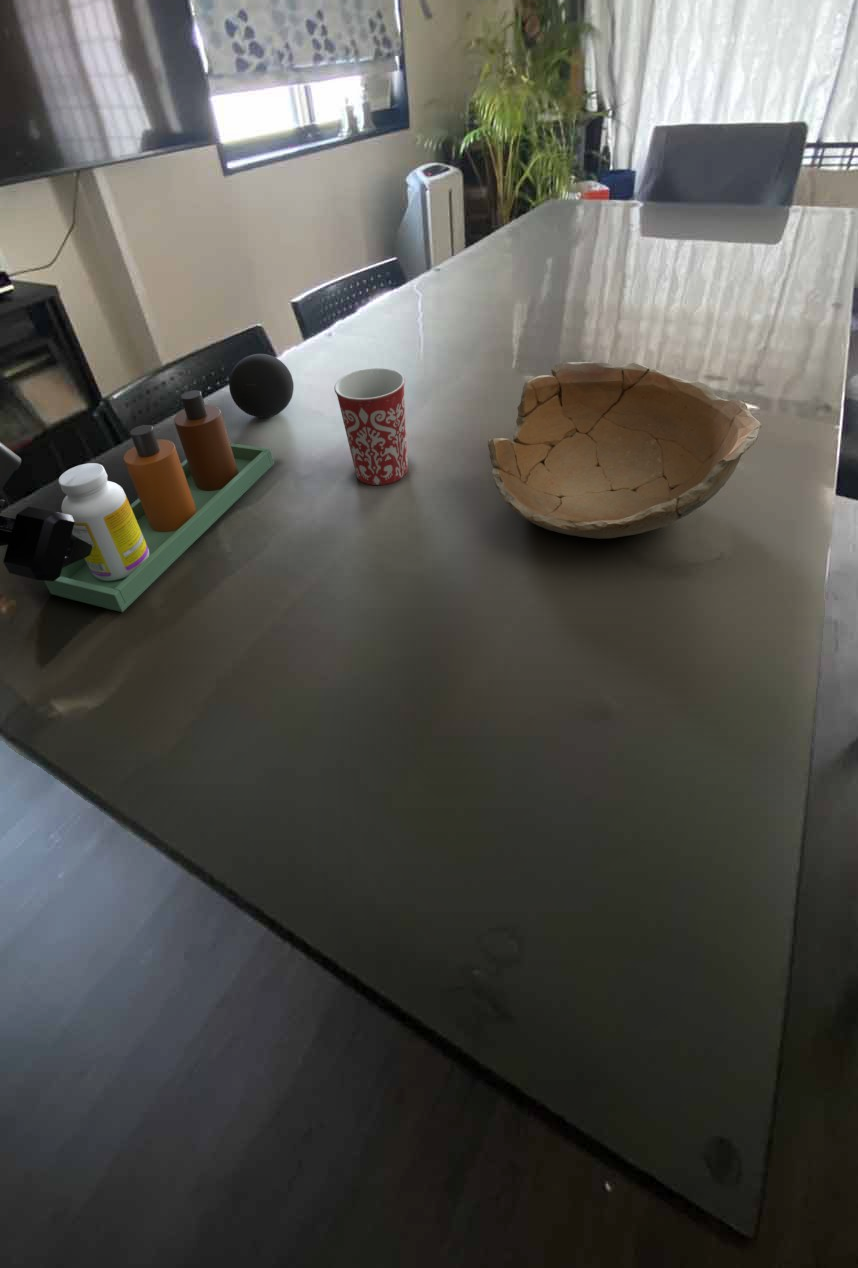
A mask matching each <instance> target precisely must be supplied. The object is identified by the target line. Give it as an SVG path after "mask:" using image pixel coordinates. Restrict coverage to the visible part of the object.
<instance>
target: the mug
mask: <svg viewBox="0 0 858 1268" xmlns="http://www.w3.org/2000/svg"><path fill="white" fill-rule="evenodd" d="M405 385H406V377H405V376H404V374H402V372H400V371H398V370H395V369H392V368H385V367H371V368H362V369H359V370H355V371H352V372H349V373H347V374H345V375H343V376H342V377H340V378H339V379H337V380H336V382H335V384H334V387H333V389H334V393H335V394H336V396H337V397H336V398H337V400H338V404H339V409H340V413H341V417H342V421H343V425H344V429H345V435H346V438H347V439H346V440H347V443H348V447H349V451H350V455H351V460H352V464H353V468H354V472H355V475H356V478H357V479H358V480H359V481H360V482H362V483H364V484H367V485H372V486H385V485H389V484H393V483H395V482H397V481H399V480H401V479H402V478H403V477H404V476H405V475H406V474H407V472H408V468H409V466H408V444H407V425H406V403H405V402H406V401H405Z"/></svg>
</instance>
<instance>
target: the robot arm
mask: <svg viewBox="0 0 858 1268" xmlns="http://www.w3.org/2000/svg"><path fill="white" fill-rule="evenodd" d="M21 464H22V458H21V457H20V456H19V455H17V454H16V453H15V452H14V451H12V450H11V449H10V448H8V447H7V446H6V445H5V444H4V443H2V442H1V441H0V492H1V491H2V489H3V488H4V486H5V485H6V484H7V482H8V481H9V479H10V478H11V477H12V475H13V474H14V472H15V471H18V469H20V466H21ZM4 504H5V500H4V499H0V547H2V546H7V547H6V549H5V550H6V551H5V554H4V558H3V561H2V563H3V565H4V566H5V568H6V569H7V571H8V573H9V574H12V575H16V576H19V577H24V578H28V579H32V580H35V581H43V582H44V581H55V580H56V579H58V578H59V577H60V575H61V571H62V568H64V567H66V566H68V565H70V564H72V563H75V562H77V561H79V560H81V559H83V558H86V557H88V556H90V554H91V551H92V545H91V544H89V543H87V542H85V541H83V540H81V539H79V538H77V537H76V536H74V535H73V534H72V530H73V527H74V523H75V521H74V519H73V517H72V515H69V514H64V513H62V512H59V511H54V510H49V509H44V508H39V507H35V506H29V505H28V506H26V507H25V508H23V509H22V510H21V511H19V512H18V513H16V515H15V518H14V517H11V516H6V515H1V514H2V511H3V508H4Z"/></svg>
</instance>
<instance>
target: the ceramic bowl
mask: <svg viewBox="0 0 858 1268" xmlns="http://www.w3.org/2000/svg"><path fill="white" fill-rule="evenodd" d="M550 370H551V375H548V374H545V375H544V374H543V375H537V376H534V377H533V378H531V379H529V380H527V381H525V383H524V385H523V386H522V392H521V396H520V403H519V404H518V406H517V407H516V408H517V417H516V420H515V421H516V425H515V428H514V434H513V440H512V439H510V438H505V437H500V438H497V437H494V438H492V439H488V440H487V448H488V450H489V459H490V464H491V466H492V468H491V470H492V477H493V480H494V481H493V482H494V485H495V487H496V489H497V491H498V493H499V495H500V496H501V498H502V500H503V501H504V502H505V504H507V505H508V507H509V508H511V509H512V510H513V511H514V512H516V514H518V515H519V516H521V517H522V518H524V519H525V520H527V521H529V522H530V523H532V524H534V525H536V526H538V527H541V528H544V529H545V530H548V531H550V532H551V531H552V532H556V533H559V534H563V535H567V536H575V537H580V538H589V539H615V538H621V537H628V536H634V535H638V534H643V533H646V532H649V531H653V530H657V529H659V528H666V527H667V526H668V525H670V524H672V523H674V522H676V521H678V520H680V519H682V518H684V517H687V516H688V515H690V514H691V513H693V512H694V511H696V510H697V509H699V508H701V507H702V506H703V505H706V503H707V502H708V501H710V500H711V499H712V498H714V496H716V495H717V493H719V491H720V490H721V489H722V488H723V487H724V486H725V485H726V484H727V482H728V481H729V480H730V478H731V477H732V475H733V474H734V472H735V471H736V469H737V466H738V465H739V463H740V461H741V458H742V455H744V454H745V453H746V452H747V451H748V450H749V449H750V448H751V447H752V446H753V445H755V443H756V442H757V440H758V436H759V431H760V430H761V428H762V427H763V425H762V424H761V422H760V421H759V420H758V419H757V418H755V417H754V416H753V415H752V413H751V411H750V410H749V409H748V405H747V404H746V403H745V401H742V400H740V399H732V400H730V399H724V398H722V397H721V396H717V394H716V392H714V390H713V388H711V387H710V386H708V385H707V384H705V383H703V382H701V381H690V380H687V379H684V378H680V377H678V376H676V375H673V374H670V373H667V372H664V371H662V370H659V369H655V368H651V367H649V366H646V365H644V364H641V363H638V362H631V363H628V364H624V365H620V366H616V365H613V364H611V363H610V364H609V363H607V362H589V361H570V362H569V361H567V362H566V361H565V362H560V363H557V364H555V365H553V367H551V369H550Z"/></svg>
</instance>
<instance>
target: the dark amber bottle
mask: <svg viewBox="0 0 858 1268" xmlns="http://www.w3.org/2000/svg"><path fill="white" fill-rule="evenodd" d="M180 400H181V403H182V406H183V410H182V411H180V412H178V413H177V414H176V415H175V416H174V418H173V422H174V425H175V430H176V432H177V435H178V438H179V441H180V443H181V446H182V450H183V453H184V455H185V458H186V459H187V462H188V465H189V468H190V471H191V474H192V477H193V480H194V483H195V485H196V487H197V488H198V489H200V490H204V491H215V490H220V489H222V488H223V487H225V486H226V485H227V484H228V483H229V482H230V481H231V480H232V479H233V478H234V477H235V476H236V475H237V474H238V470H237V466H236V463H235V459H234V456H233V453H232V449H231V446H230V443H231V442H230V440H229V439H230V438H229V436H228V435H229V434H228V432H227V428H226V425H225V421H224V418H223V414H222V411H221V409H220V407H218V406H216V405H212V404H205V400H204V398H203V394H202V392H201V391H200V390H198V389H197V390H195V389H194V390H188V391H186V392H183V393H182V394H181V395H180ZM186 459H185V460H186Z"/></svg>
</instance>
